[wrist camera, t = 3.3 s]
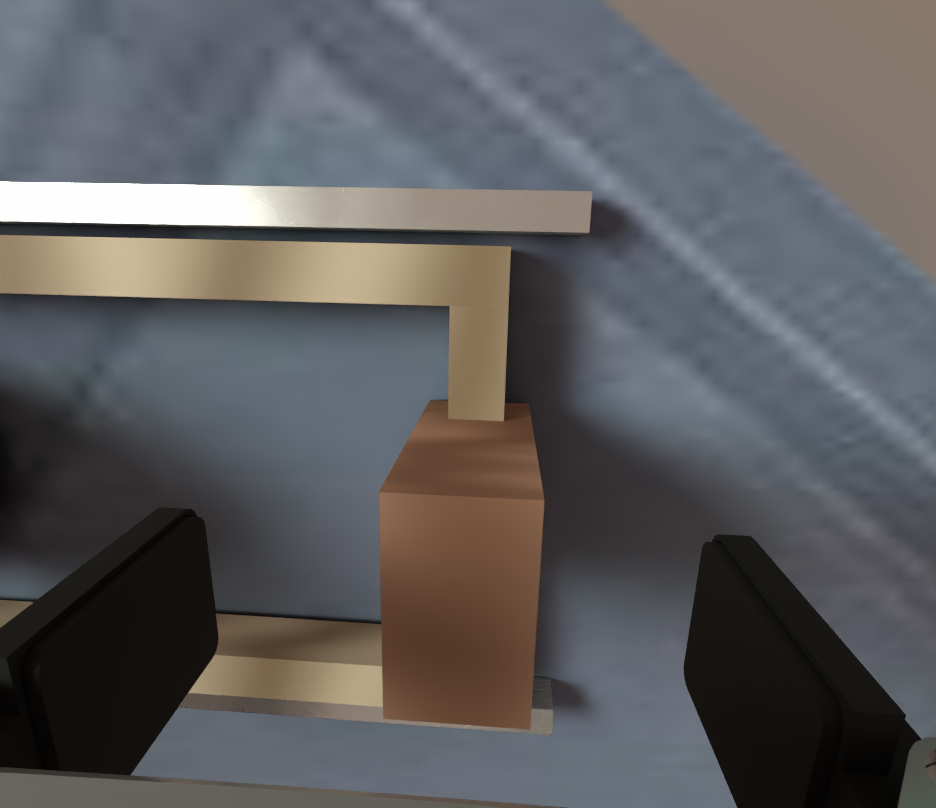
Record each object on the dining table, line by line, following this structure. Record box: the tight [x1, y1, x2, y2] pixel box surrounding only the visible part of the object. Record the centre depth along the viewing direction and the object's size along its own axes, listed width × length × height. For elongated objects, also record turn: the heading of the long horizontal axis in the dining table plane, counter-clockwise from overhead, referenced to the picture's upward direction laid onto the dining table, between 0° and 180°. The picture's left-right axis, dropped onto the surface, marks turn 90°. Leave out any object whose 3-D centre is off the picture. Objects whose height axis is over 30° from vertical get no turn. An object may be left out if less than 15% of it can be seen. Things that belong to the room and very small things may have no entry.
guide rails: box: [0, 182, 592, 735], centre depth 18 cm, size 28×17×1 cm, turn 89°
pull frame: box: [0, 235, 545, 730], centre depth 15 cm, size 27×14×7 cm, turn 89°
